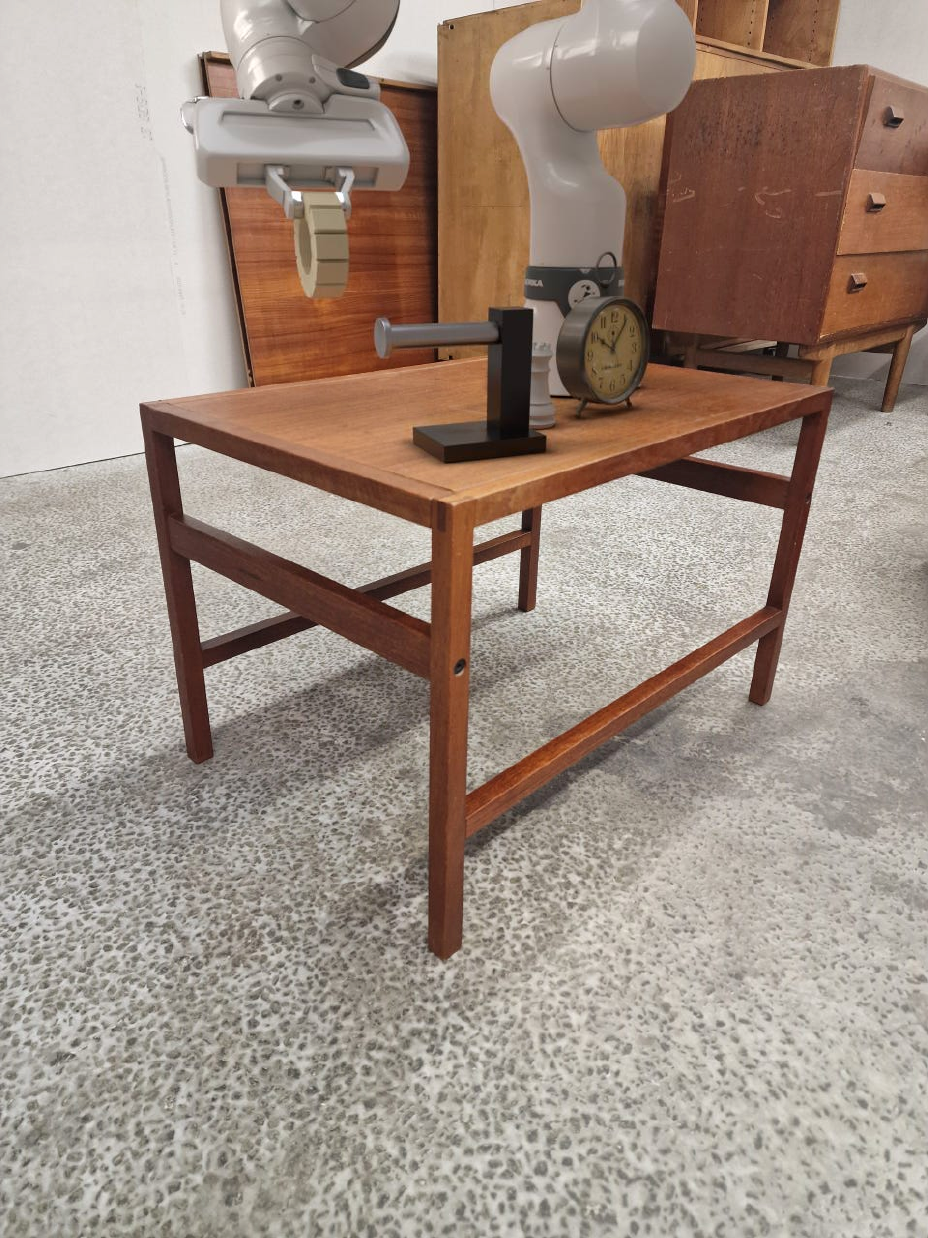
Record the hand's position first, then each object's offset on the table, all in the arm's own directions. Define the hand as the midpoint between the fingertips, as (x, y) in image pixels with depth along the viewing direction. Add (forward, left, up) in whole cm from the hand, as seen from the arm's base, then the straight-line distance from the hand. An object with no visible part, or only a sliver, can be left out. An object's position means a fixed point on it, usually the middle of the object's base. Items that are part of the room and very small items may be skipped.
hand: (320, 214), depth 74 cm
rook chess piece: (+2, +21, -20) cm, 29 cm away
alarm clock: (-4, +29, -20) cm, 35 cm away
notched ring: (-1, 0, -7) cm, 7 cm away
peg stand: (+11, +12, -19) cm, 25 cm away
